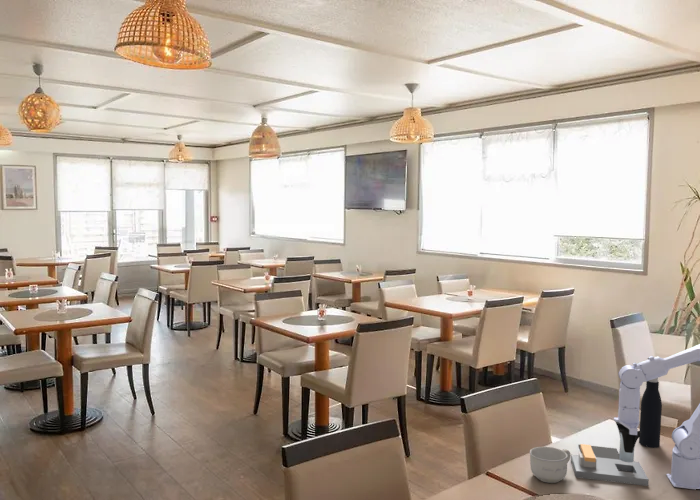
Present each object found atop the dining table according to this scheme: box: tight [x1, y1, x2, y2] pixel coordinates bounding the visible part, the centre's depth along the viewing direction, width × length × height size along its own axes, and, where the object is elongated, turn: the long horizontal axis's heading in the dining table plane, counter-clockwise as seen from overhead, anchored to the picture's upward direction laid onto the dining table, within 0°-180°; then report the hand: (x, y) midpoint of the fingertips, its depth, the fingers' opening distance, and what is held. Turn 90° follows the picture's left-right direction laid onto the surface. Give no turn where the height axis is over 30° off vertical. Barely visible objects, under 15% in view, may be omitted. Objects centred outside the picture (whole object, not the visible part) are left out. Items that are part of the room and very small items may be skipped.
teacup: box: [529, 446, 571, 484], centre depth 173 cm, size 14×11×8 cm
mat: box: [578, 443, 620, 460], centre depth 190 cm, size 12×12×1 cm
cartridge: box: [618, 432, 635, 462], centre depth 175 cm, size 4×4×8 cm
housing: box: [570, 452, 650, 487], centre depth 177 cm, size 20×12×5 cm, turn 76°
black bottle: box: [638, 358, 663, 449], centre depth 198 cm, size 6×6×30 cm
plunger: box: [579, 443, 596, 462], centre depth 178 cm, size 3×10×4 cm, turn 166°
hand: (626, 449), depth 175 cm, fingers closed on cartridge, 4 cm apart
